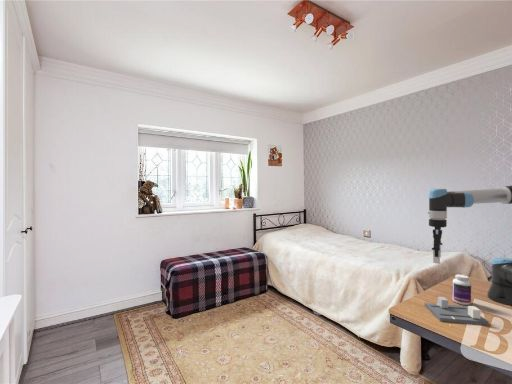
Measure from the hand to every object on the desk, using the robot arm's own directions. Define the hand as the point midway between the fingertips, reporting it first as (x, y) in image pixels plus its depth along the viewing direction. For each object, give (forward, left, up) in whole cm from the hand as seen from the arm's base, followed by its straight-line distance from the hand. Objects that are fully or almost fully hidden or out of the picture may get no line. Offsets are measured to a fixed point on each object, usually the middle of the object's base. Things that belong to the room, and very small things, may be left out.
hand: (437, 260), depth 137 cm
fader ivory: (-11, +11, -23) cm, 28 cm away
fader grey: (-2, +2, -23) cm, 23 cm away
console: (-5, +7, -25) cm, 26 cm away
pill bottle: (-17, -9, -25) cm, 31 cm away
